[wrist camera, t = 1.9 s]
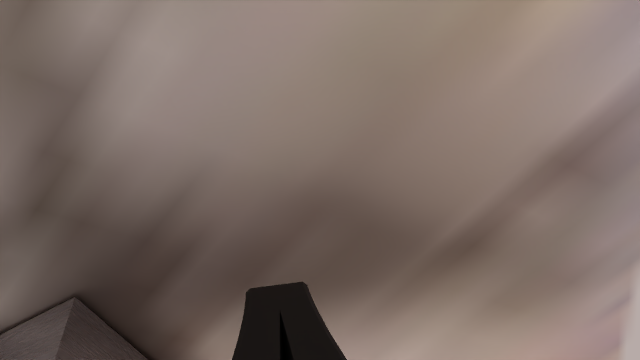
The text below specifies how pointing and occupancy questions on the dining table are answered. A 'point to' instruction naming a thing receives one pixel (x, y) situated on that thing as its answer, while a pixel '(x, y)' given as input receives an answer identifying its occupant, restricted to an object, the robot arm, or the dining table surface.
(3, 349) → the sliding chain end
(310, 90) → the dining table surface
